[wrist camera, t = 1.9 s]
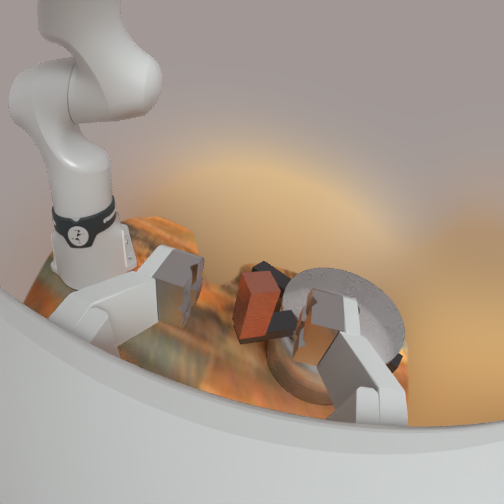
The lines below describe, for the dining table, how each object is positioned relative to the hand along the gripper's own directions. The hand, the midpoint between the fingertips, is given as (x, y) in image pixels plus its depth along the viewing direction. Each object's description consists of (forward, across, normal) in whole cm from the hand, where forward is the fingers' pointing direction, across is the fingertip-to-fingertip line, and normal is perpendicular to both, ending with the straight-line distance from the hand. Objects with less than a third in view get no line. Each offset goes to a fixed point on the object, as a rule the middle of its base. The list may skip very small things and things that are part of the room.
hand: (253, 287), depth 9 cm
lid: (+20, -10, +20) cm, 30 cm away
